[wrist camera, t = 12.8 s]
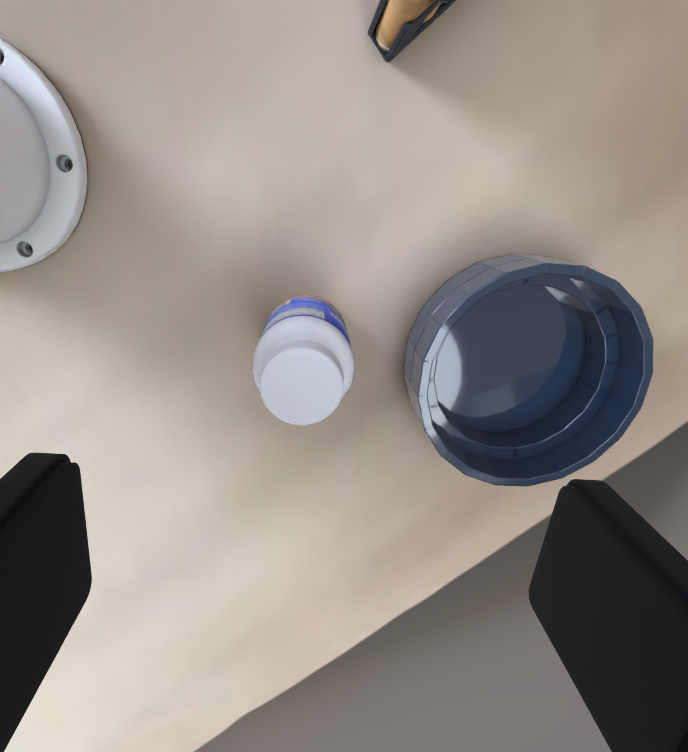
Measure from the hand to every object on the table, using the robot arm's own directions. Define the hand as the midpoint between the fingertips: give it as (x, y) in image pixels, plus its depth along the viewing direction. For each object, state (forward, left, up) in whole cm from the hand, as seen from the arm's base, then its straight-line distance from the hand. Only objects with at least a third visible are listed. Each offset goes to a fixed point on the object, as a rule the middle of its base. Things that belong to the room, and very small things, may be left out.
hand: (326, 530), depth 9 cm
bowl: (+13, -3, -23) cm, 26 cm away
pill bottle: (0, -2, -23) cm, 23 cm away
